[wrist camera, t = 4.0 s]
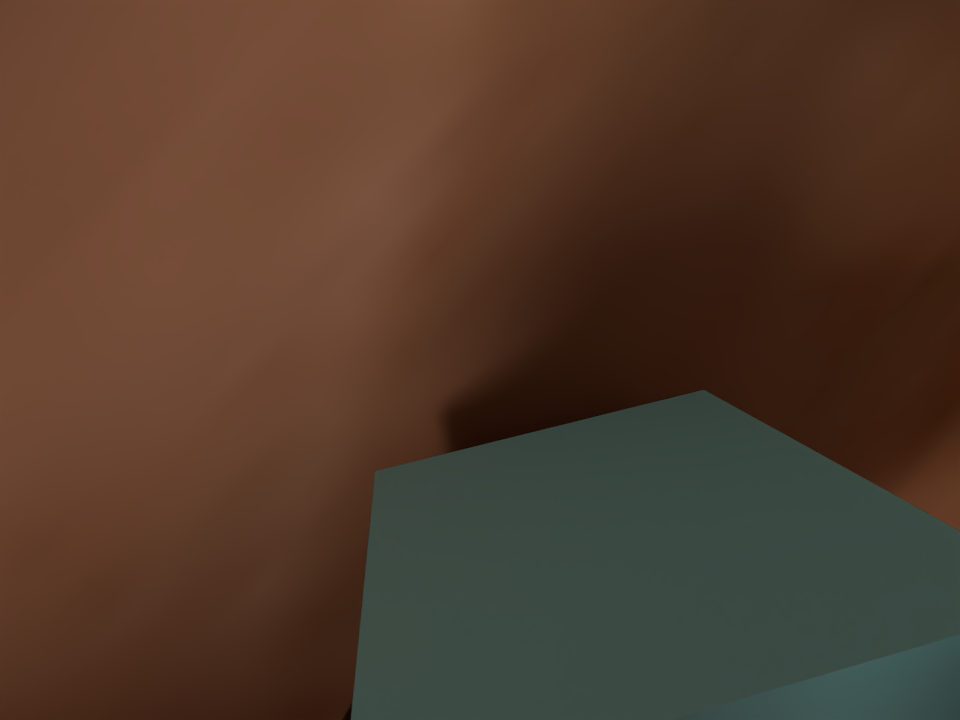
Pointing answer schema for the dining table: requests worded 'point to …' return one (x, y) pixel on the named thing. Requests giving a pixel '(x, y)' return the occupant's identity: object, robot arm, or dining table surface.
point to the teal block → (654, 580)
